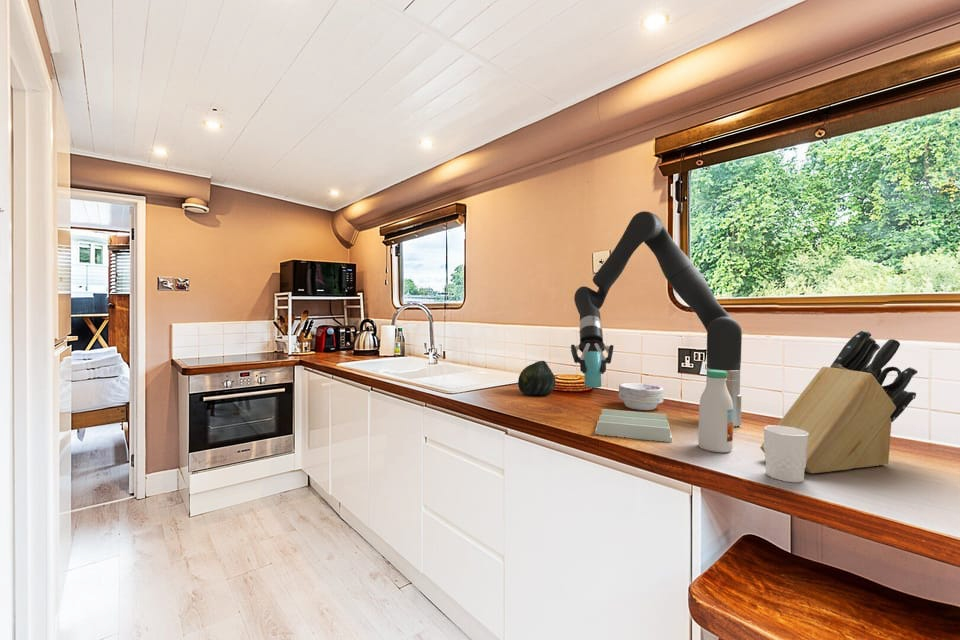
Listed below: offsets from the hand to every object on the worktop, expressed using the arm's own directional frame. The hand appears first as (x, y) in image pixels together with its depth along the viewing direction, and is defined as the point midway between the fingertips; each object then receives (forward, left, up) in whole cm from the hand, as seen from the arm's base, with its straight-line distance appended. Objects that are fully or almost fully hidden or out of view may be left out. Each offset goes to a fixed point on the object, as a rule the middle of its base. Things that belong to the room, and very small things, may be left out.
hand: (593, 371), depth 139 cm
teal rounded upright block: (0, -2, -5) cm, 5 cm away
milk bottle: (-32, +16, -16) cm, 39 cm away
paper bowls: (-14, -27, -16) cm, 34 cm away
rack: (-12, +6, -16) cm, 21 cm away
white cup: (-43, +32, -16) cm, 56 cm away
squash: (+26, -36, -16) cm, 47 cm away
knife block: (-58, +16, -16) cm, 63 cm away
